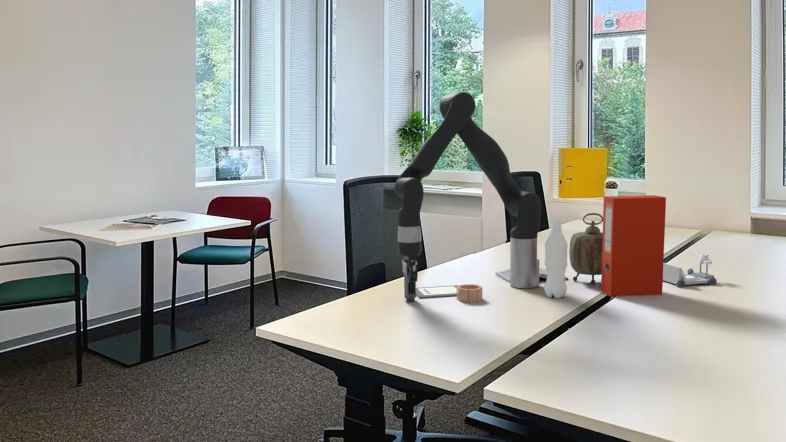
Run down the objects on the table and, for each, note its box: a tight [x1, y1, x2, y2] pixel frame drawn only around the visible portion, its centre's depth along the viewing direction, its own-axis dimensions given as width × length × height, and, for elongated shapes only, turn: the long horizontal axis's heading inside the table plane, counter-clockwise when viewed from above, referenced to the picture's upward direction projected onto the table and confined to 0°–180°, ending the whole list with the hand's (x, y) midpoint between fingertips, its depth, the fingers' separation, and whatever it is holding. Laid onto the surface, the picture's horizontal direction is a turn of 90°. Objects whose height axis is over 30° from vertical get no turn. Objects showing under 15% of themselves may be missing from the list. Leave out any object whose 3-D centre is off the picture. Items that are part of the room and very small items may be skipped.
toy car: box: [663, 253, 717, 288], centre depth 221 cm, size 18×10×12 cm
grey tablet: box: [416, 284, 459, 299], centre depth 213 cm, size 17×13×1 cm
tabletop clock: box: [568, 212, 603, 285], centre depth 221 cm, size 14×9×25 cm, turn 84°
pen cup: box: [456, 283, 483, 303], centre depth 203 cm, size 8×8×4 cm
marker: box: [403, 266, 417, 303], centre depth 202 cm, size 4×4×12 cm
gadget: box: [494, 267, 569, 284], centre depth 233 cm, size 22×6×15 cm
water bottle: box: [543, 219, 569, 299], centre depth 203 cm, size 7×7×25 cm
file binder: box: [600, 194, 667, 298], centre depth 205 cm, size 8×17×32 cm, turn 95°
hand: (410, 292), depth 202 cm, fingers closed on marker, 3 cm apart
